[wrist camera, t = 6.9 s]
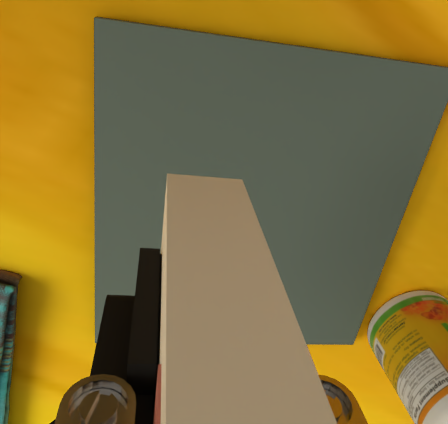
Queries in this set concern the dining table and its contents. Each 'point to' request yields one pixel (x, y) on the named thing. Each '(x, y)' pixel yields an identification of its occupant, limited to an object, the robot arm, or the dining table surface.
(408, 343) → the supplement bottle
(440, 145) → the dining table surface
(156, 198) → the mat
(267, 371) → the card box
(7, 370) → the dish towel
